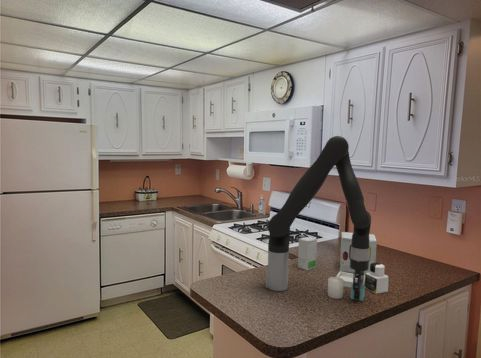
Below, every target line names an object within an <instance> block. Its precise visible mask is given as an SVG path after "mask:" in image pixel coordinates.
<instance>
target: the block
mask: <svg viewBox="0 0 481 358" xmlns="http://www.w3.org/2000/svg"><path fill="white" fill-rule="evenodd" d="M356 288H358V286H356ZM365 292H366V288H365V284H363V285H361V286H360V298H359V300H357V299H354V290H353V284H352V286H351V288H350V299H351V300H356V301H361V302H363V301H364V300H365V297H366V293H365Z"/></svg>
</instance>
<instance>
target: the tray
mask: <svg viewBox="0 0 481 358" xmlns="http://www.w3.org/2000/svg"><path fill="white" fill-rule="evenodd" d="M335 277H338V278H341V279H343V280H344V285H343V288H344V287H345V288H350V289H351V286H352V284H353V272H344V271H340V270H339V271H338V273H337V274H336V276H335ZM362 284H363V285H365V274H364V280H363V283H362Z"/></svg>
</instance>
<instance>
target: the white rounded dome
mask: <svg viewBox="0 0 481 358" xmlns="http://www.w3.org/2000/svg"><path fill="white" fill-rule="evenodd" d="M343 285H344V280H343V279H341V278H338V277H336V276H331V277H328V278H327V296H328V297H329V298H331V299H342V298H343V297H344V286H343Z"/></svg>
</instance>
